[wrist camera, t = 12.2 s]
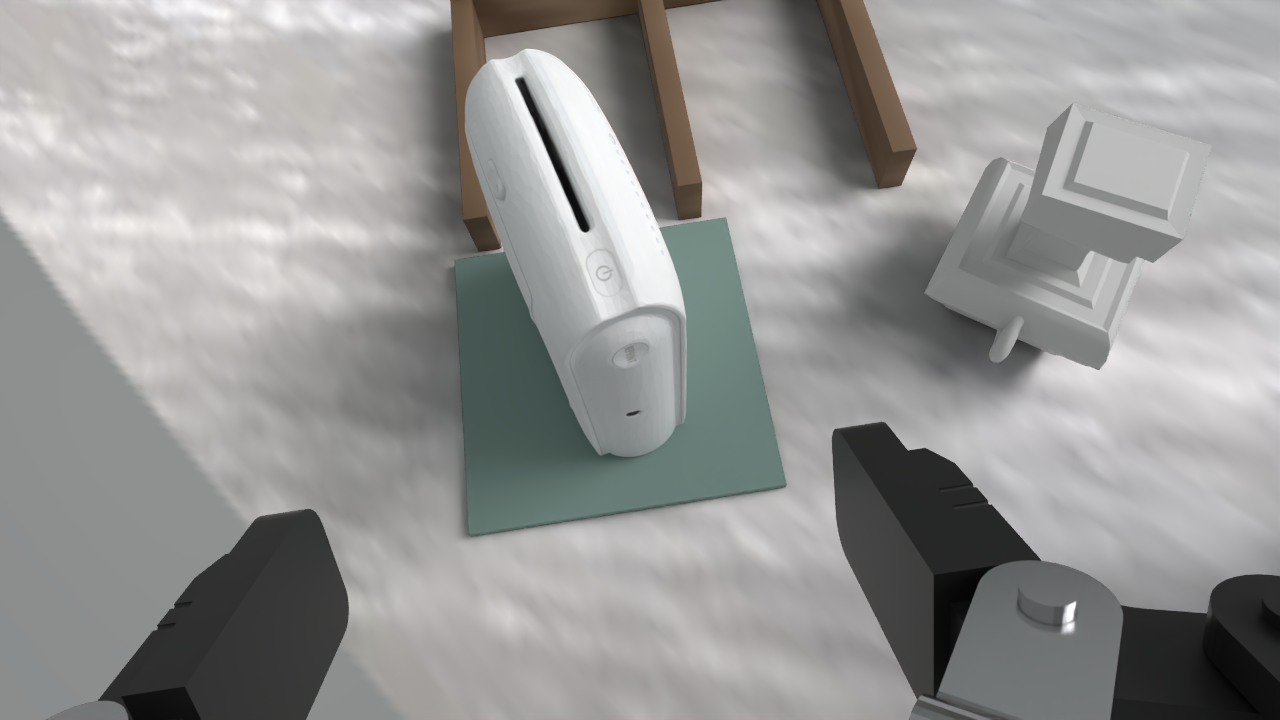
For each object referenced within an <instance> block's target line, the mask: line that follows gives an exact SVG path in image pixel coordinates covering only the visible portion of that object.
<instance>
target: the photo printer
mask: <svg viewBox="0 0 1280 720" xmlns="http://www.w3.org/2000/svg"><path fill="white" fill-rule="evenodd" d="M465 133H466V138H467V143H468V146H469V150H470V153H471V157H472V160H473V164H474V168H475V171H476V174H477V177H478V180H479V183H480V186H481V189H482V191H483V194H484V197H485V200H486V203H487V206H488V209H489V211H490V214H491V217H492V219H493V222H494V224H495V227H496V230H497V233H498V236H499V238H500V241H501V243H502V246H503V249H504V251H505V254H506V256H507V259H508V261H509V264H510V266H511V269H512V271H513V274H514V276H515V278H516V281H517V283H518V286H519V288H520V290H521V293H522V295H523V297H524V300H525V302H526V304H527V306H528V308H529V312H530V317H531V319H532V320H533V322H534V323H535V324H536V326H537V328H538V330H539V332H540V335H541V337H542V339H543V341H544V343H545V346H546V348H547V350H548V353H549V355H550V357H551V359H552V362H553V364H554V366H555V369H556V371H557V373H558V376H559V378H560V381H561V383H562V385H563V388H564V390H565V393H566V395H567V397H568V400H569V404H570V407H571V408H572V409H573V411H574V413H575V416H576V418H577V420H578V422H579V424H580V426H581V428H582V430H583V432H584V434H585V435H586V437H587V439H588V440H589V442H590V443H591V445H592V446H593V447H594V449H595V450H596V452H597V453H598V454H599V455H604V454H607V453H611V454H613V455H616V456H621V457H635V456H641V455H644V454H647V453H649V452H651V451H654V450H656V449H657V448H659V447H660V446H661V445H662V444H664V443H665V442H666V441H667V440H668V438H669V437H670V436H671V435H672V433H673V431H674V429H675V427H676V426H678V425H681V424H683V423H684V420H685V416H686V357H687V354H686V351H687V340H686V313H685V307H684V301H683V296H682V292H681V288H680V284H679V280H678V277H677V274H676V271H675V268H674V264H673V262H672V259H671V257H670V254H669V251H668V249H667V246H666V244H665V242H664V239H663V237H662V234H661V231H660V229H659V227H658V224H657V222H656V220H655V217H654V215H653V212H652V210H651V208H650V205H649V203H648V201H647V199H646V197H645V194H644V192H643V190H642V188H641V186H640V184H639V181H638V179H637V177H636V175H635V173H634V171H633V169H632V167H631V165H630V163H629V161H628V159H627V157H626V155H625V153H624V151H623V149H622V147H621V145H620V143H619V141H618V139H617V137H616V135H615V133H614V132H613V130H612V128H611V126H610V124H609V123H608V121H607V119H606V117H605V115H604V113H603V112H602V110H601V108H600V107H599V105H598V104H597V102H596V100H595V99H594V97H593V96H592V94H591V93H590V91H589V90H588V88H587V87H586V86H585V84H584V83H583V82H582V81H581V79H580V78H579V77H578V76H577V75H576V74H575V73H574V72H573V71H572V70H571V69H570V68H569V67H567V66H566V65H565V64H564V63H563V62H562V61H561V60H559V59H558V58H556V57H555V56H553V55H551V54H549V53H547V52H543V51H540V50H535V49H524V50H522V51H520V52H519V53H517V54H516V55H514V56H512V57H509V58H506V59H493V60H490V61H488V62H487V63H486V64H485V65H483V66H482V68H481V69H480V70H479V71H478V72H477V74H476V75H475V77H474V78H473V79H472V81H471V83H470V85H469V88H468V91H467V95H466V100H465Z"/></svg>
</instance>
